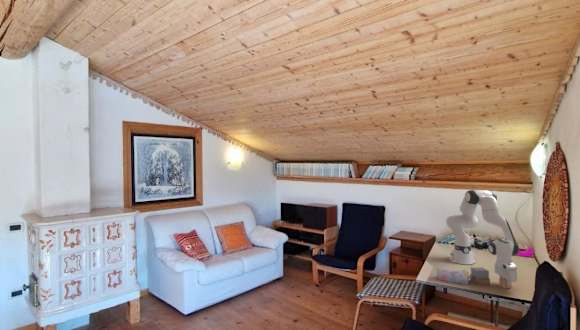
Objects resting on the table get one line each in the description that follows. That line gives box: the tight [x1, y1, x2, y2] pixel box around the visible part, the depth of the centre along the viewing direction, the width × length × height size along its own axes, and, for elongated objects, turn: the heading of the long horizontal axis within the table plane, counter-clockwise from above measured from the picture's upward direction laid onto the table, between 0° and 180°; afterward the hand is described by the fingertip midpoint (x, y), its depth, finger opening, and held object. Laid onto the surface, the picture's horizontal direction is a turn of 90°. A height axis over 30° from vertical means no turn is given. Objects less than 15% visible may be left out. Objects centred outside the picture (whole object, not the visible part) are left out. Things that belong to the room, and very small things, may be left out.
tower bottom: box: [469, 273, 491, 286], centre depth 231 cm, size 9×9×5 cm
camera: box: [473, 237, 489, 251], centre depth 323 cm, size 15×11×10 cm
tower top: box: [470, 266, 490, 278], centre depth 231 cm, size 8×8×5 cm
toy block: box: [516, 246, 534, 258], centre depth 298 cm, size 15×6×8 cm, turn 58°
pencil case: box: [436, 267, 470, 286], centre depth 234 cm, size 21×9×10 cm, turn 60°
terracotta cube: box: [498, 277, 513, 289], centre depth 223 cm, size 5×5×5 cm
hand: (505, 284), depth 223 cm, fingers closed on terracotta cube, 5 cm apart
